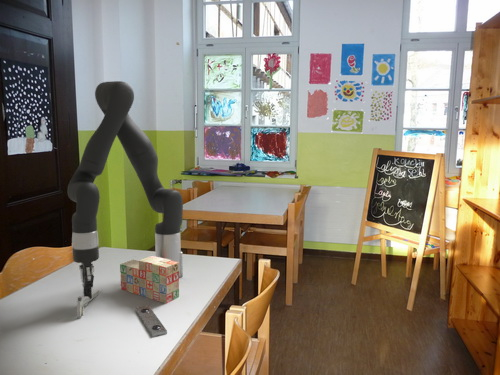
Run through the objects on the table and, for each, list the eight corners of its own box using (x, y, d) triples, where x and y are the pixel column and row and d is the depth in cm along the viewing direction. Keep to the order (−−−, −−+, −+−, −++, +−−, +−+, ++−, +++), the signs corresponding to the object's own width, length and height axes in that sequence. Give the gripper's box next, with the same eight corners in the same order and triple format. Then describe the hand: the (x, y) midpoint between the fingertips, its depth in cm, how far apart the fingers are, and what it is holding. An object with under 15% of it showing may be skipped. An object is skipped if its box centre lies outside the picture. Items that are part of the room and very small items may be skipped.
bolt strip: (149, 308, 126) (148, 305, 126) (167, 333, 111) (166, 330, 111) (136, 310, 125) (135, 307, 124) (152, 336, 109) (152, 333, 109)
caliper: (80, 319, 119) (80, 299, 118) (77, 319, 119) (76, 299, 118) (100, 292, 139) (100, 274, 139) (97, 292, 139) (96, 274, 138)
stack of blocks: (120, 289, 141) (119, 255, 139) (134, 284, 146) (133, 250, 145) (166, 303, 130) (166, 266, 128) (179, 297, 135) (179, 261, 134)
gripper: (101, 249, 122) (103, 304, 124) (95, 238, 133) (97, 289, 136) (74, 252, 118) (77, 308, 121) (70, 241, 130) (72, 293, 132)
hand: (87, 298), depth 128 cm, fingers closed
